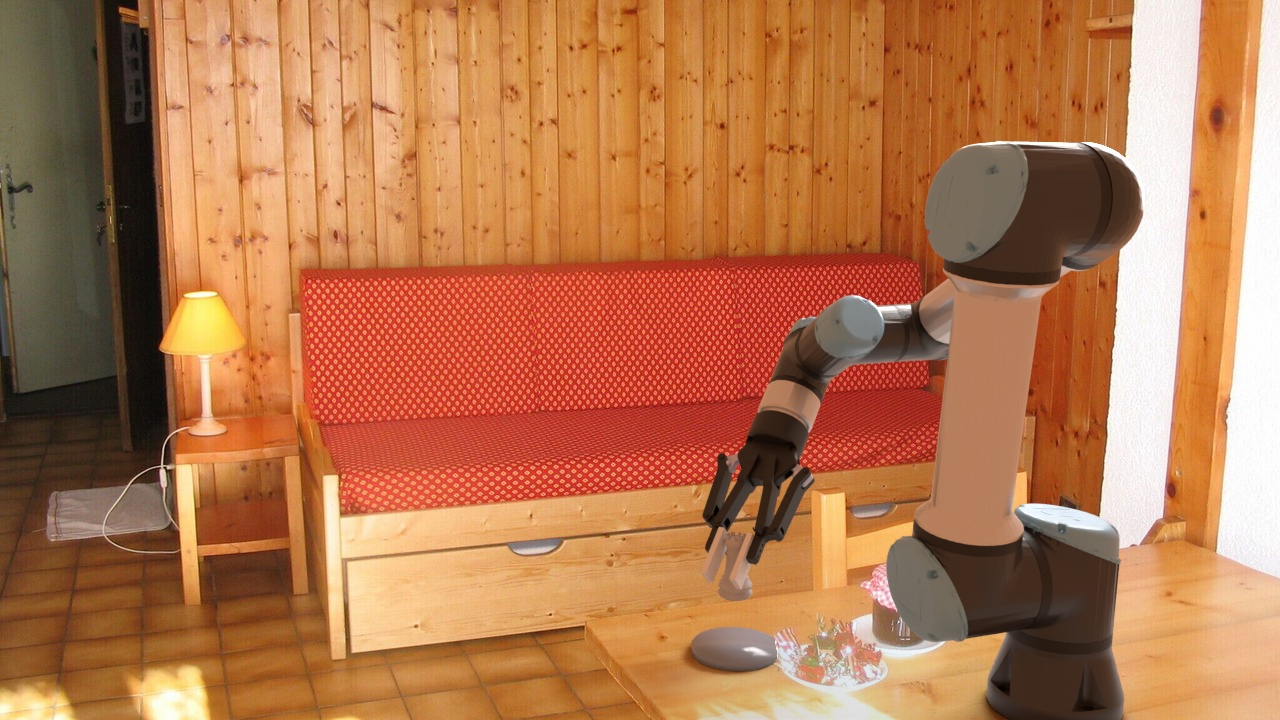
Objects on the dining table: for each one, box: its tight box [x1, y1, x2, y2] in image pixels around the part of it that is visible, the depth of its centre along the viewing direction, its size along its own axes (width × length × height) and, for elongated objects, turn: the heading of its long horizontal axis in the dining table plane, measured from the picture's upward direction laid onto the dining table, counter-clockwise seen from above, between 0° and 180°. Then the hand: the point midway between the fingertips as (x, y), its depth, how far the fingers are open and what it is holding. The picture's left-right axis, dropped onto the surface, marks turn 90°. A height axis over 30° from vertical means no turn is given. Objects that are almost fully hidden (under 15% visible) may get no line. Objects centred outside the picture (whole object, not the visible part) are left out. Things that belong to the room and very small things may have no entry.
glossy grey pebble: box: [691, 626, 778, 672], centre depth 161 cm, size 11×11×1 cm
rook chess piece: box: [717, 531, 753, 602], centre depth 160 cm, size 4×4×8 cm
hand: (721, 580), depth 157 cm, fingers closed on rook chess piece, 3 cm apart
